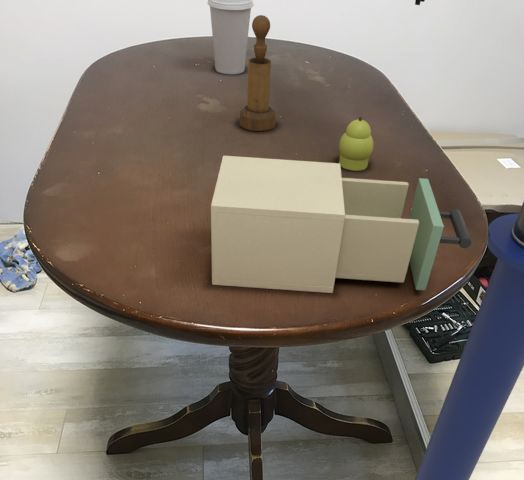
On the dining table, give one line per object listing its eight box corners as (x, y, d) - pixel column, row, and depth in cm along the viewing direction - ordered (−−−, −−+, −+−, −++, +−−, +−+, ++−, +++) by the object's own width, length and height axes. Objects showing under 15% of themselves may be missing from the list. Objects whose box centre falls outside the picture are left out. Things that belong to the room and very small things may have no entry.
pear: (368, 158, 101) (376, 111, 95) (371, 173, 97) (380, 124, 91) (335, 156, 101) (342, 108, 95) (337, 170, 97) (343, 122, 91)
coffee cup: (212, 77, 127) (211, -2, 117) (205, 63, 134) (203, -13, 124) (255, 76, 129) (258, -2, 119) (246, 62, 136) (248, -13, 126)
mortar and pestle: (265, 116, 112) (271, 10, 100) (281, 129, 108) (288, 19, 96) (233, 120, 110) (235, 12, 98) (248, 133, 106) (251, 22, 94)
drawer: (445, 241, 80) (464, 181, 74) (462, 293, 72) (484, 229, 66) (313, 232, 80) (320, 171, 74) (313, 282, 72) (322, 217, 66)
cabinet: (329, 237, 81) (340, 163, 74) (332, 293, 72) (345, 214, 65) (223, 230, 82) (223, 155, 74) (212, 284, 72) (210, 205, 65)
